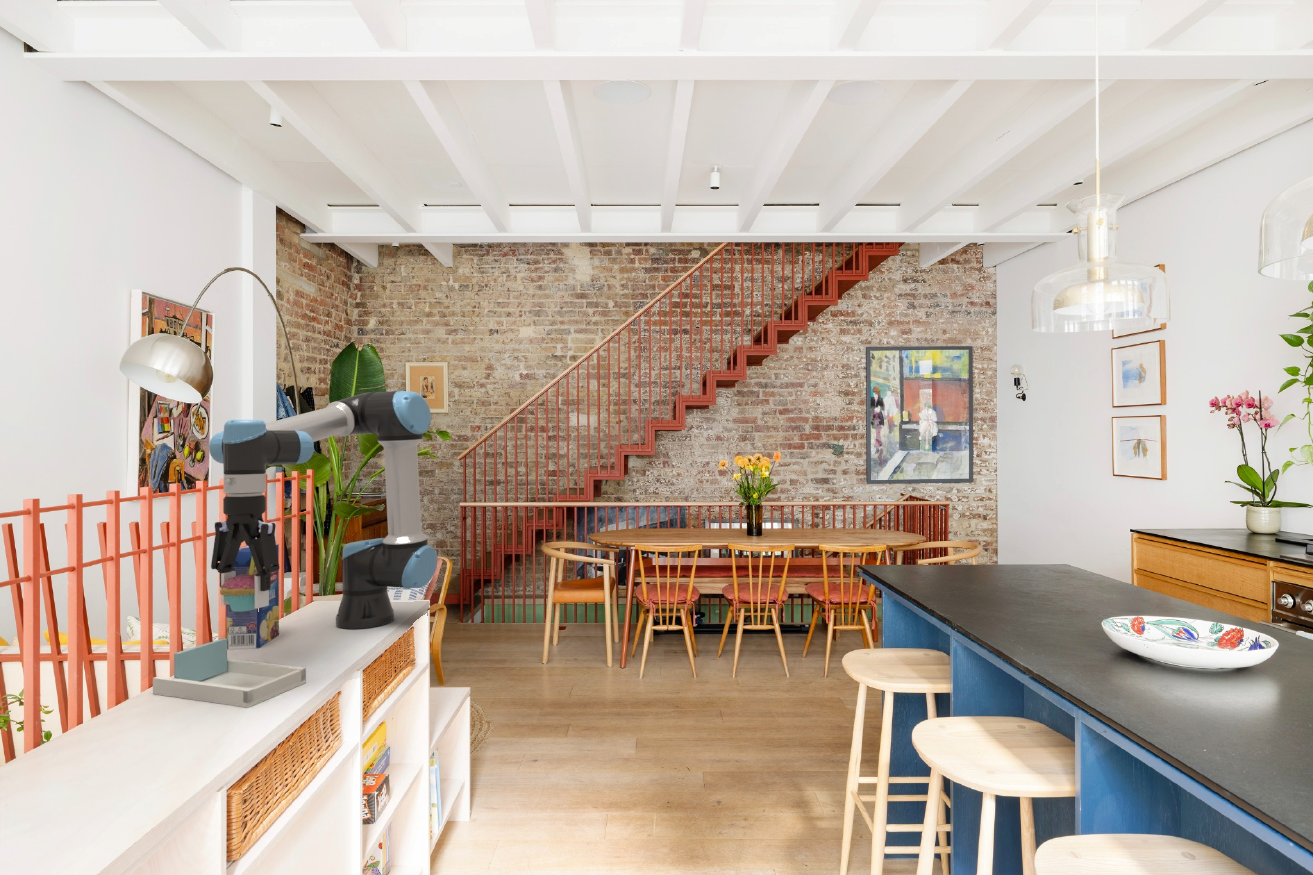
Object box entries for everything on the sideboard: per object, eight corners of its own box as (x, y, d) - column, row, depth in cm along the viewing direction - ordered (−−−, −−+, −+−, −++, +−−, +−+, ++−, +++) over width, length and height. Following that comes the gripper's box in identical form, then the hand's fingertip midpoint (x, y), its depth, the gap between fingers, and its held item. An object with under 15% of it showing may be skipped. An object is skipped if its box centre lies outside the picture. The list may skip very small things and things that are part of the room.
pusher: (209, 669, 151) (209, 636, 151) (227, 671, 149) (227, 638, 149) (160, 686, 140) (160, 651, 141) (178, 689, 139) (178, 653, 139)
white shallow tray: (216, 671, 152) (215, 657, 152) (305, 682, 145) (305, 667, 145) (152, 693, 139) (152, 678, 139) (248, 707, 131) (247, 690, 131)
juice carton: (258, 648, 169) (258, 551, 170) (226, 649, 169) (225, 552, 169) (279, 634, 181) (278, 544, 181) (249, 636, 180) (248, 544, 181)
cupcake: (254, 602, 147) (254, 546, 147) (277, 607, 142) (277, 549, 142) (211, 611, 139) (211, 552, 139) (234, 616, 135) (234, 555, 135)
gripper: (189, 495, 141) (189, 605, 141) (269, 497, 134) (269, 613, 134) (222, 492, 148) (222, 598, 148) (299, 494, 141) (300, 604, 141)
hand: (244, 605), depth 141 cm, fingers closed on cupcake, 8 cm apart
